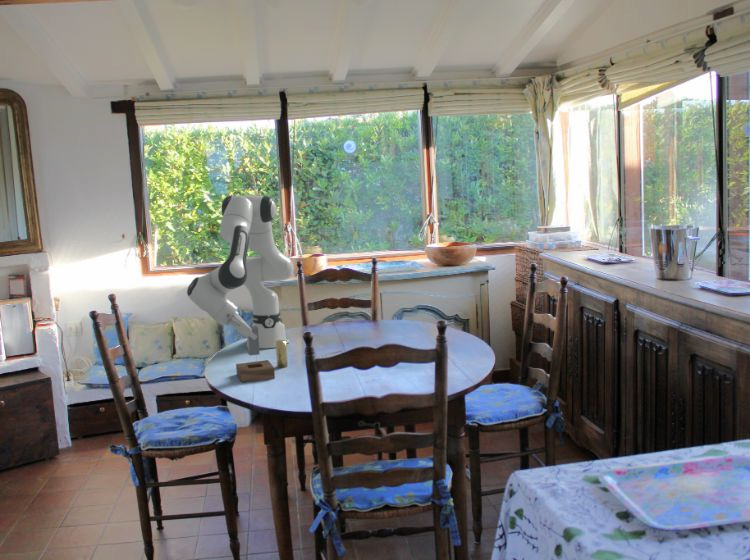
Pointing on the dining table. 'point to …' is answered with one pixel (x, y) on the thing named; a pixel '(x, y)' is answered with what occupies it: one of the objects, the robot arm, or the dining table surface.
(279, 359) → the round bit
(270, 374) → the bore block
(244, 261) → the robot arm
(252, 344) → the square bit
